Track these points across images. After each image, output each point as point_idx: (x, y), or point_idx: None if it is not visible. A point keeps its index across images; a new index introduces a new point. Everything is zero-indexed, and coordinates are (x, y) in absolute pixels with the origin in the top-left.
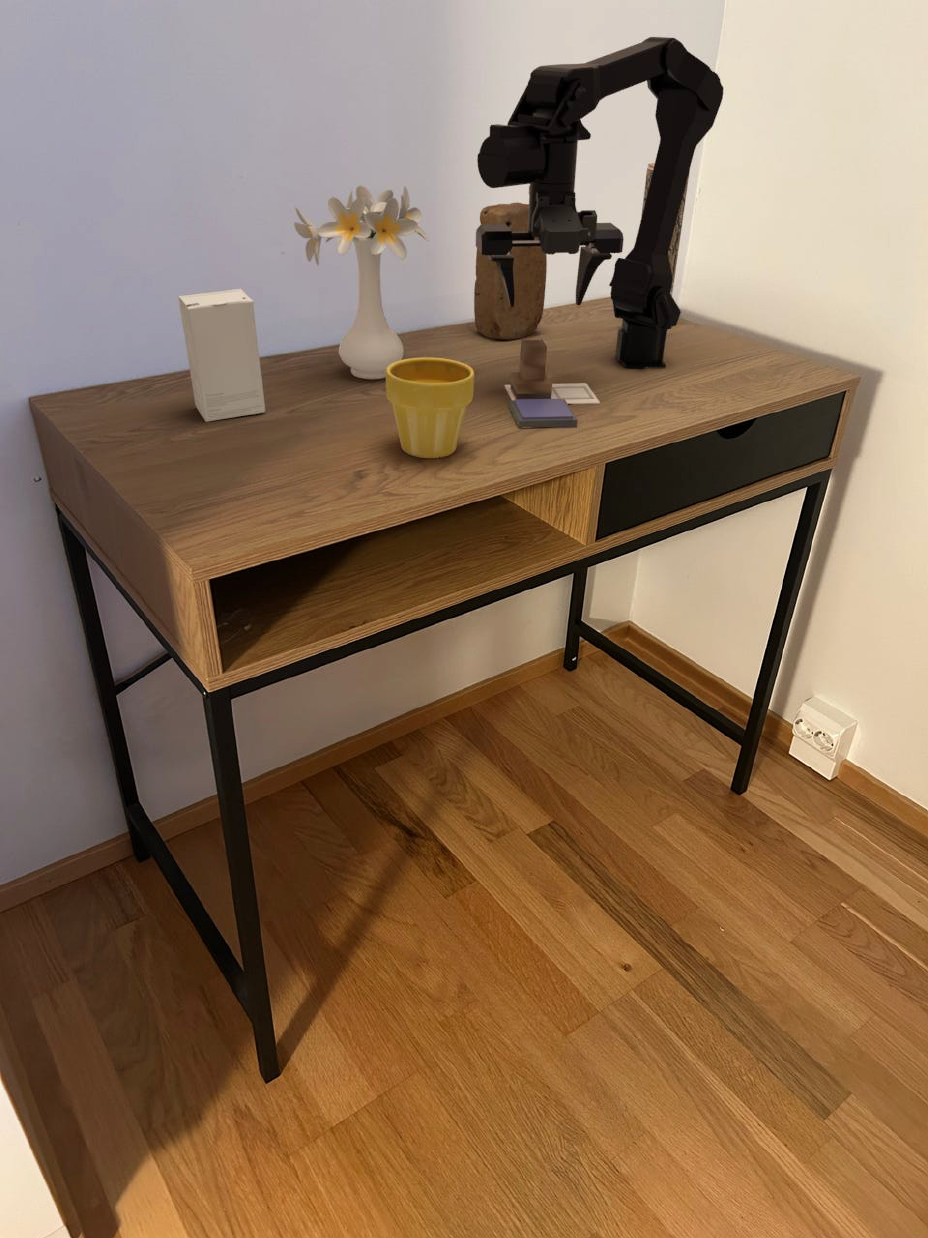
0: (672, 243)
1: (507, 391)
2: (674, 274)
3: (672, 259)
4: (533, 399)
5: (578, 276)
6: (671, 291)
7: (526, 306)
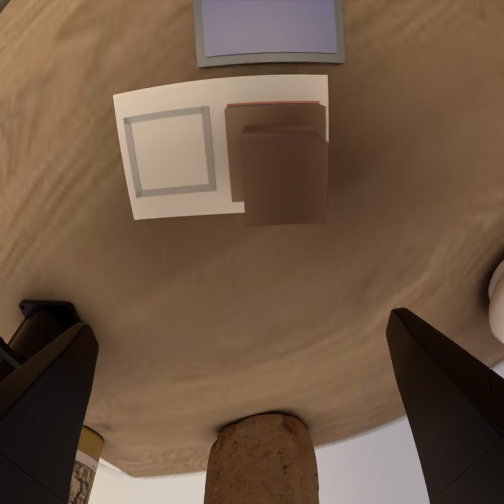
0: None
1: None
2: None
3: None
4: (285, 49)
5: (67, 444)
6: None
7: (237, 459)
